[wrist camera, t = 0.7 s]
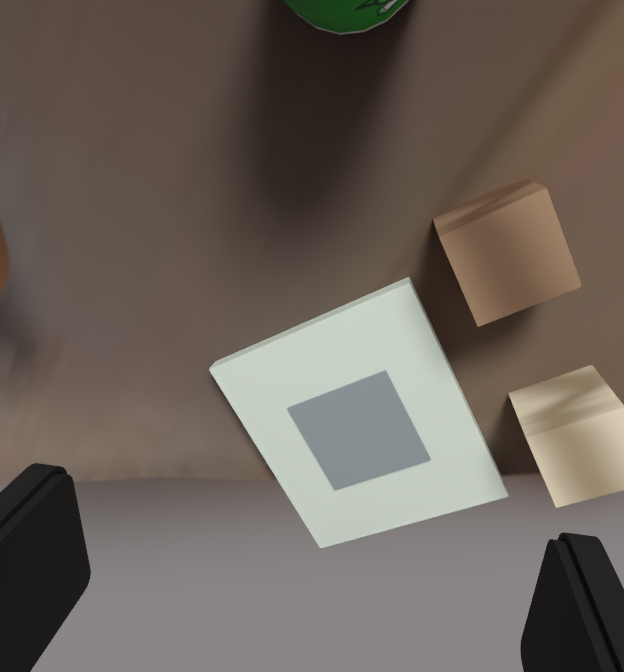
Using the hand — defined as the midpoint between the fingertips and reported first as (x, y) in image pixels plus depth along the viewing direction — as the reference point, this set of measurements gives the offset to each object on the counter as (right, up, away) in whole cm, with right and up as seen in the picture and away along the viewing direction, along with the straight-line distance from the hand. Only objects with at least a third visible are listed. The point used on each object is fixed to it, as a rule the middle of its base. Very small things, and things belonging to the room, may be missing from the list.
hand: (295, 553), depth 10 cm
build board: (+4, -2, +24) cm, 25 cm away
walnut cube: (+10, +10, +18) cm, 23 cm away
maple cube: (+16, 0, +22) cm, 27 cm away
